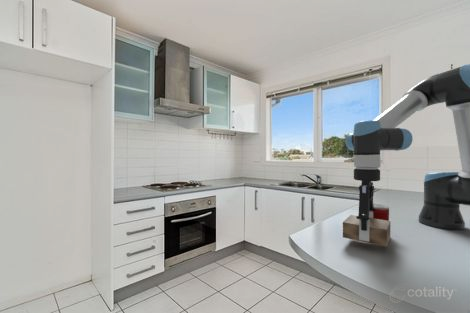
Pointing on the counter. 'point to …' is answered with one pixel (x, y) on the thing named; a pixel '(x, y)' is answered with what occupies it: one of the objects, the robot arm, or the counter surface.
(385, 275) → the counter surface
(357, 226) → the brown wooden block
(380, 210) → the canned food
